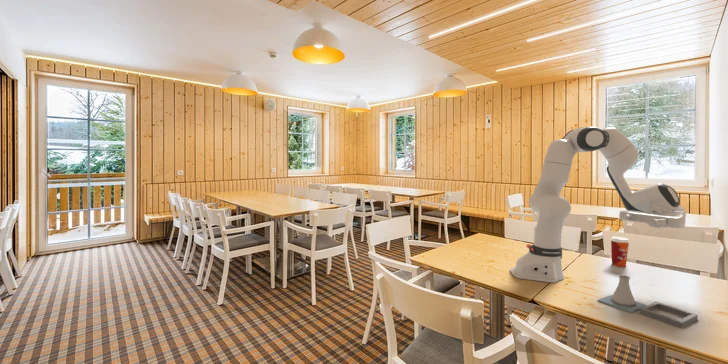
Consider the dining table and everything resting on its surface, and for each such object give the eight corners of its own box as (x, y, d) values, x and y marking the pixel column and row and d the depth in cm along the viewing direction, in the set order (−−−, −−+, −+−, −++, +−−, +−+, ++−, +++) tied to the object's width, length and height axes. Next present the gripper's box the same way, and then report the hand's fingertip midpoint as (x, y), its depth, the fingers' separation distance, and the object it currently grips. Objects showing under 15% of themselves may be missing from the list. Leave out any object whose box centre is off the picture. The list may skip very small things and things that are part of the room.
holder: (681, 328, 105) (682, 322, 105) (639, 313, 115) (639, 308, 115) (697, 319, 110) (697, 314, 110) (655, 306, 120) (655, 301, 120)
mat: (631, 313, 115) (631, 311, 115) (597, 301, 125) (597, 299, 125) (647, 306, 120) (647, 305, 120) (613, 295, 130) (613, 294, 130)
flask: (624, 298, 126) (625, 272, 125) (640, 306, 119) (642, 279, 118) (606, 298, 126) (607, 273, 125) (621, 307, 119) (622, 280, 118)
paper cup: (622, 268, 160) (624, 240, 159) (606, 264, 167) (607, 237, 166) (632, 266, 163) (633, 239, 162) (615, 262, 170) (616, 235, 169)
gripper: (629, 206, 145) (611, 208, 139) (690, 212, 127) (673, 216, 121) (628, 220, 146) (611, 223, 140) (689, 228, 127) (672, 232, 121)
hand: (640, 220), depth 130 cm, fingers open, 8 cm apart
